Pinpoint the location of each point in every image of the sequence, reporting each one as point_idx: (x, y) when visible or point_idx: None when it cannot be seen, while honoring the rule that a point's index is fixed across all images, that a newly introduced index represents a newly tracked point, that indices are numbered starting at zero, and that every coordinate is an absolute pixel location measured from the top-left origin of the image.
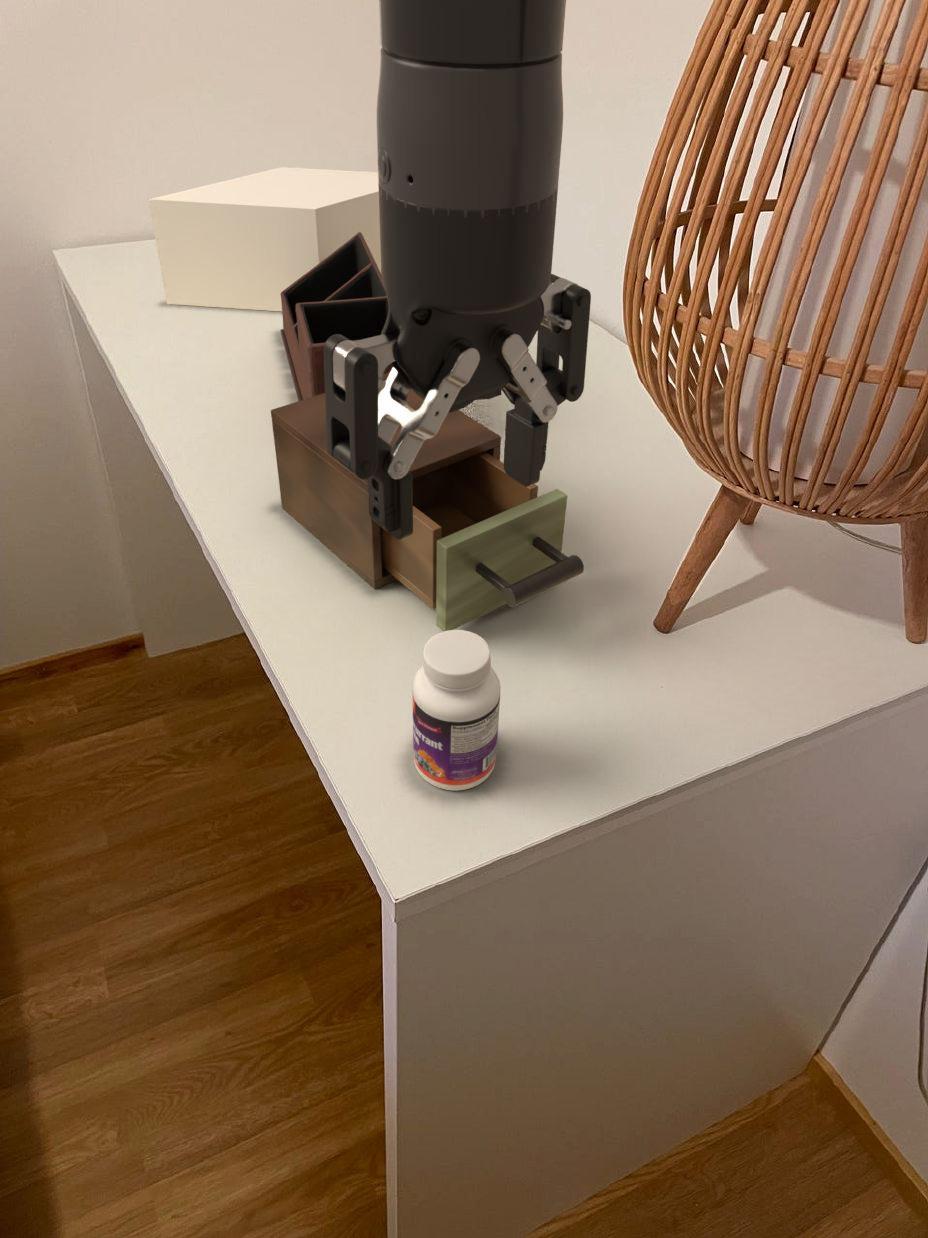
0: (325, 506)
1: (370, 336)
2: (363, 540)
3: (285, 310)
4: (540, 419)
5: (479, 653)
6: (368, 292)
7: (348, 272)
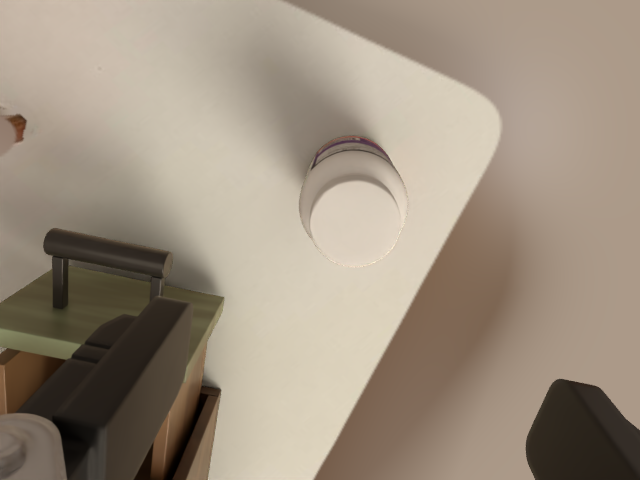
0: None
1: None
2: (204, 442)
3: None
4: (61, 441)
5: (338, 199)
6: None
7: None
